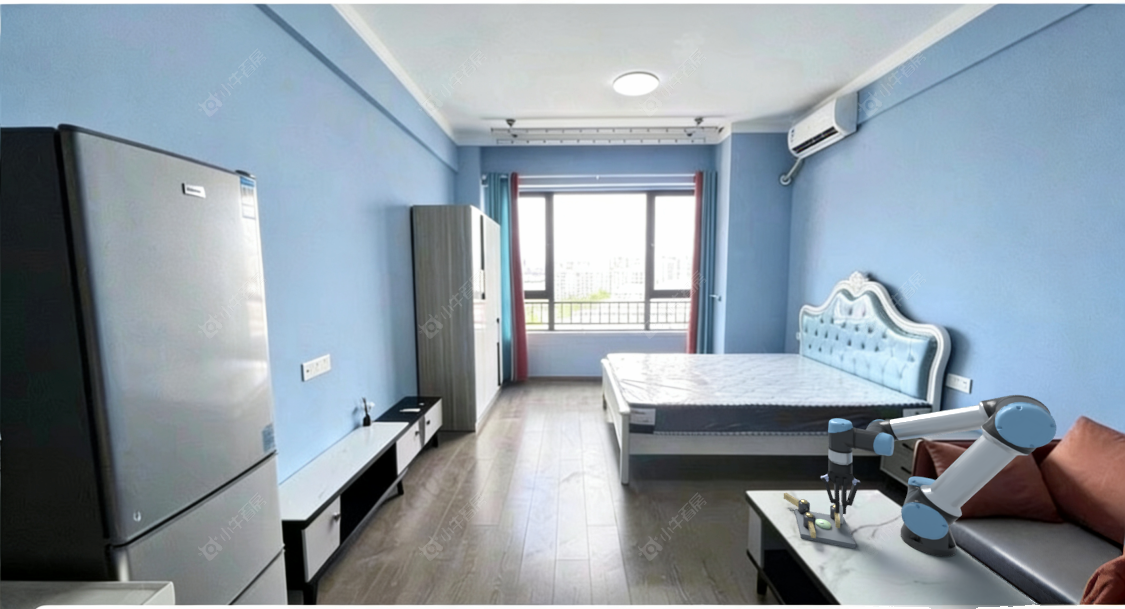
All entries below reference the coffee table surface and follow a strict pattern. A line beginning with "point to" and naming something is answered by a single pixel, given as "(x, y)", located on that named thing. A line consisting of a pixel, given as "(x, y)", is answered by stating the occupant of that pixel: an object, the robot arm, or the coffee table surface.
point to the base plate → (826, 530)
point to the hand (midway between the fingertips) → (840, 521)
